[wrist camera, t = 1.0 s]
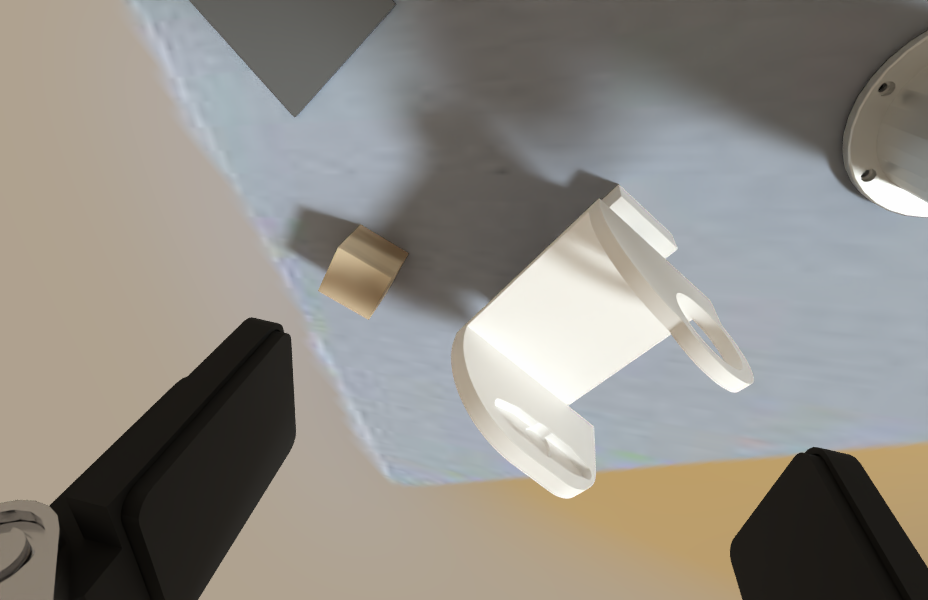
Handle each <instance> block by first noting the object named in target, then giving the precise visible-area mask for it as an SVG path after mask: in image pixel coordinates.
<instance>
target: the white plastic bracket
mask: <svg viewBox="0 0 928 600" xmlns="http://www.w3.org/2000/svg"><path fill="white" fill-rule="evenodd" d="M677 249H678V248H677V245H676V243H675V240H674V238H673V236H672V234H671V233H670V232H669V231H668V230H667V229H666V228H665V227H664V226H663V225H662V224H661V223H660V222H659V221H658V220H656V219H655V218H654V217H653V216H652V215H651V214H650V213H649V212H648V211H647V210H646V209H645V208H644V207H643V206H642V205H640V204H639V203H638V202H637V201H636V200H635V199H634V198H633V197H632V196H631V195H630V194H629V193H628V192H627V191H626V190H624V189H623V188H622V187H621V186H620V185H619V184H618V185H617V186H616V187H615V188H614V189H613V190H612V191H611V192H610V193H609V194H608V195H607V196H605V197H604V198H603V199H602V200H601V199H600V198H599V199H598V200H597V201H596V202H595V203H594V204H592V205H591V206H590V207H589V208H588V209H587V210H586V211H585V212H584V213H583V214H582V215H581V216H580V217H579V218H578V219H577V220H576V221H574V222H573V223H572V224H571V225H570V226H569V227H568V228H567V229H566V230H565V231H564V232H563V233H562V234H561V235H560V236H559V237H558V238H556V239H555V240H554V241H553V242H552V243H551V244H550V245H549V246H548V247H547V248H546V249H545V250H544V251H543V252H542V253H541V254H540V255H538V256H537V257H536V258H535V259H534V260H533V261H532V262H531V263H530V264H529V265H528V266H527V267H526V268H525V269H524V270H523V271H522V272H521V273H519V274H518V275H517V276H516V277H515V278H514V279H513V280H512V281H511V282H510V283H509V284H508V285H507V286H506V287H505V288H504V289H503V290H501V291H500V292H499V293H498V294H497V295H496V296H495V297H494V298H493V299H492V300H491V301H490V302H489V303H488V304H487V305H486V306H485V307H483V308H482V309H481V310H480V311H479V312H478V313H477V314H476V315H475V316H474V317H473V318H472V319H471V320H470V321H469V322H468V323H467V324H465V325H464V326H463V327H462V328H461V329H460V330H459V331H458V332H457V334H456V337H455V339H454V342H453V346H452V351H451V365H452V372H453V377H454V381H455V384H456V387H457V390H458V393H459V395H460V398H461V400H462V402H463V404H464V406H465V408H466V410H467V412H468V414H469V416H470V417H471V419H472V421H473V422H474V424H475V425H476V427H477V428H478V429H479V431H480V432H481V433H482V435H483V436H484V437H485V438H486V440H487V441H488V442H489V443H490V444H491V445H492V446H493V447H494V448H495V449H496V450H497V451H498V452H499V453H500V454H501V455H502V456H503V457H504V458H505V459H506V460H508V461H509V462H510V463H511V464H513V465H514V466H515V467H517V468H518V469H519V470H521V471H522V472H524V473H525V474H526V475H528V476H529V477H530V478H532V479H533V480H534V481H536V482H537V483H539V484H540V485H541V486H542V487H544V488H545V489H547V490H548V491H549V492H551V493H552V494H554V495H556V496H558V497H561V498H572V497H574V496H576V495H578V494H579V493H581V492H583V491H585V490H587V489H588V488H590V487H591V486H592V485H593V483H594V481H595V477H596V462H595V437H594V426H593V425H592V424H590V423H589V422H588V421H586V420H585V419H584V418H583V417H581V416H580V415H579V414H578V413H576V412H575V411H574V410H573V409H571V408H570V407H569V406H568V405H570V404H571V403H573V402H574V401H575V400H577V399H578V398H580V397H581V396H583V395H584V394H586V393H587V392H588V391H590V390H591V389H593V388H594V387H596V386H597V385H599V384H600V383H601V382H603V381H604V380H606V379H607V378H609V377H610V376H612V375H613V374H614V373H616V372H617V371H619V370H620V369H622V368H623V367H625V366H626V365H627V364H629V363H630V362H632V361H633V360H635V359H636V358H638V357H639V356H640V355H642V354H643V353H645V352H646V351H648V350H649V349H651V348H652V347H653V346H655V345H656V344H658V343H659V342H661V341H662V340H664V339H665V338H666V337H668V336H669V335H672V336H673V337H674V339H675V340H676V341H677V343H678V344H679V345H680V346H681V348H682V349H683V350H684V351H685V353H686V354H687V355H688V356H689V357H690V358H691V359H692V361H693V362H694V363H695V364H696V365H697V366H698V367H699V368H700V369H701V370H702V371H703V372H704V373H705V374H706V375H707V376H709V377H710V378H711V379H712V380H713V381H714V382H716V383H717V384H718V385H720V386H721V387H723V388H724V389H726V390H728V391H730V392H734V393H736V392H738V391H740V390H742V389H744V388H745V387H747V386H749V385H751V384H752V383H753V382H754V376H753V373H752V370H751V368H750V366H749V364H748V362H747V360H746V358H745V357H744V355H743V353H742V352H741V350H740V349H739V347H738V346H737V344H736V343H735V342H734V340H733V339H732V338H731V336H730V335H729V334H728V332H727V331H726V330H725V329H724V327H723V326H722V324H721V322H720V320H719V318H718V316H717V313H716V311H715V309H714V307H713V304H712V302H711V301H710V300H709V299H708V298H707V297H706V296H705V295H704V294H703V293H702V292H701V291H700V290H699V289H697V288H696V287H695V286H694V285H693V284H692V283H691V282H690V281H689V280H688V279H687V278H685V277H684V276H683V275H682V274H681V273H680V272H679V271H678V270H677V269H676V268H675V267H674V266H672V265H671V264H670V263H669V262H668V261H667V260H666V258H667V257H668V256H669V255H671V254H672V253H673V252H674V251H676V250H677ZM692 319H693V320H694V321H695V322H696V323H697V325H698V326H699V327H700V328H701V329H702V330H703V331H704V332H705V334H706V335H707V336H708V337H709V339H710V340H711V341H712V343H713V344H714V345H715V347H716V348H717V350H718V351H719V353H720V354H721V356H722V358H723V360H722V359H721V358H720V357H719V356H718V355H717V354H716V353H715V352H714V351H713V350H712V349H711V348H710V347H709V346H708V345H707V344H706V343H705V342H704V340H703V339H702V338H701V337H700V336H699V335H698V333H697V332H696V331H695V329H694V328H693V327H692V325H691V324H690V323H689V322H690V321H691V320H692Z"/></svg>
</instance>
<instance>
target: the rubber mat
mask: <svg viewBox="0 0 928 600" xmlns="http://www.w3.org/2000/svg"><path fill="white" fill-rule="evenodd" d="M190 1H191V2H192V4H193V5H194V6H195V7H196V8H197V9H198V10H199V11H200V13H201V14H202V15H203V16H204V17H205V18H206V19H207V20H208V21H209V23H210V24H211V25H212V26H213V27H214V28H215V29H216V30H217V31H218V33H219V34H220V35H221V36H222V37H223V38H224V39H225V40H226V41H227V43H228V44H229V45H230V46H231V47H232V48H233V49H234V50H235V51H236V53H237V54H238V55H239V56H240V57H241V58H242V59H243V60H244V62H245V63H246V64H247V65H248V66H249V67H250V68H251V69H252V70H253V72H254V73H255V74H256V75H257V76H258V77H259V78H260V79H261V80H262V82H263V83H264V84H265V85H266V86H267V87H268V88H269V89H270V90H271V92H272V93H273V94H274V95H275V96H276V97H277V98H278V99H279V100H280V102H281V103H282V104H283V105H284V106H285V107H286V108H287V109H288V111H289V112H290V113H291V114H292V115H293V116H294V117H296V116H297V115H298V114H299V113H300V112H301V111H302V110H303V109H304V107H305V106H306V105H307V104H308V103H309V102H310V101H311V100H312V98H313V97H314V96H315V95H316V94H317V93H318V92H319V91H320V90H321V88H322V87H323V86H324V85H325V84H326V83H327V82H328V81H329V79H330V78H331V77H332V76H333V75H334V74H335V73H336V72H337V71H338V69H339V68H340V67H341V66H342V65H343V64H344V63H345V62H346V60H347V59H348V58H349V57H350V56H351V55H352V54H353V53H354V51H355V50H356V49H357V48H358V47H359V46H360V45H361V44H362V43H363V41H364V40H365V39H366V38H367V37H368V36H369V35H370V34H371V32H372V31H373V30H374V29H375V28H376V27H377V26H378V25H379V24H380V22H381V21H382V20H383V19H384V18H385V17H386V16H387V15H388V13H389V12H390V11H391V10H392V9H393V8H394V7H395V6H396V4H395V2H394V1H393V0H190Z"/></svg>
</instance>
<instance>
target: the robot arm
mask: <svg viewBox="0 0 928 600" xmlns="http://www.w3.org/2000/svg"><path fill="white" fill-rule="evenodd" d="M882 84H884V86H883V88H882V89H881V90H879V88H880V86H881V85H882ZM878 90H879V91H878ZM842 153H843V159H844V165H845V169H846V171H847V173H848V176H849V178H850V180H851V182H852V183H853V185H854V186H855V187H856V188H857V189H858V191H859V192H860V193H861V194H862V195H864V196H865V197H866V198H868V199H869V200H870V201H872V202H873V203H875V204H877V205H878V206H880V207H882V208H884V209H886V210H888V211H891V212H894V213H898V214H901V215H904V216H914V217H923V218H926V217H928V30H927V31H926V32H924V33H923V34H921V35H920V36H918V37H916V38H915V39H913V40H912V41H910V42H909V43H907V44H906V45H905V46H904V47H903V48H901V49H900V50H899V51H898V52H896V53H895V54H894V55H893V56H892V57H890V58H889V59H888V60H887V61H886V62H885V63H884V64H883V66H882V67H881V68H880V69H879V70H878V71H877V72H876V73H875V74H874V75H873V76H872V77H871V79H870V80H869V82H868V83H867V85H866V86H865V87H864V89H863V90H862V92H861V93H860V95H859V96H858V98H857V100H856V102H855V104H854V106H853V108H852V110H851V112H850V114H849V117H848V120H847V124H846V127H845V131H844V135H843V150H842ZM864 171H866V172H865V173H864V174H863V175H862V173H863V172H864ZM295 436H296V424H295V405H294V385H293V368H292V347H291V337H290V335H289V334H287V333H284V330H283V327H282V325H280V324H278V323H274V322H270V321H265V320H261V319H256V318H248V319H246V320H245V321H244V322H243V323H242V324H241V325H240V326H239V327H238V328H237V329H236V330H235V331H234V332H233V333H232V334H231V335H229V336H228V337H227V338H226V339H225V340H224V341H223V342H222V343H221V344H220V345H219V346H218V347H217V348H216V349H215V350H214V351H213V352H212V353H211V354H210V355H209V356H208V357H207V358H206V359H205V360H204V361H203V362H202V363H201V364H200V365H199V366H198V367H197V368H196V369H195V370H194V371H193V372H192V373H191V374H190V375H189V376H188V377H185V378H183V379H181V380H180V381H179V382H177V383H176V384H175V385H174V386H173V387H172V388H171V389H170V390H169V391H168V392H167V393H166V394H165V395H163V396H162V397H161V399H159V400H158V401H157V402H156V403H155V404H154V405H153V406H152V407H151V408H150V409H149V410H148V411H147V412H146V413H145V414H144V415H143V416H142V417H141V418H140V419H139V420H138V421H137V422H136V423H134V424H133V425H132V426H131V427H130V428H129V429H128V430H127V431H126V432H125V433H124V434H123V435H122V436H121V437H120V438H119V439H118V440H117V441H116V442H115V443H114V444H113V445H112V446H111V447H110V448H109V449H108V450H107V451H105V453H103V454H102V455H101V456H100V457H99V458H98V459H97V460H96V461H95V462H94V463H93V464H92V465H91V466H90V467H89V468H88V469H87V470H86V471H85V472H84V473H83V474H82V475H81V476H80V477H79V478H78V479H76V480H75V482H73V483H72V484H71V485H70V486H69V487H68V488H67V489H66V490H65V491H64V492H63V493H62V494H61V495H60V496H59V497H58V498H57V499H56V500H55V501H54V502H53V503H52V504H51V505H50V506H48V505H45V504H43V503H40V502H37V501H28V500H15V501H9V502H4V503H0V600H198V599H199V597H200V596H201V594H202V592H203V591H204V589H205V587H206V586H207V584H208V583H209V581H210V579H211V578H212V576H213V575H214V573H215V571H216V570H217V568H218V567H219V565H220V563H221V562H222V560H223V558H224V557H225V555H226V554H227V552H228V550H229V549H230V547H231V546H232V544H233V542H234V541H235V539H236V538H237V536H238V534H239V533H240V531H241V529H242V528H243V526H244V524H245V523H246V521H247V520H248V518H249V516H250V515H251V513H252V512H253V510H254V508H255V507H256V505H257V504H258V502H259V500H260V499H261V497H262V496H263V494H264V492H265V491H266V489H267V488H268V486H269V484H270V483H271V481H272V479H273V478H274V476H275V475H276V473H277V471H278V470H279V468H280V467H281V465H282V463H283V462H284V460H285V459H286V457H287V455H288V454H289V452H290V450H291V448H292V446H293V443H294V440H295ZM730 557H731V562H732V566H733V569H734V573H735V575H736V579H737V582H738V586H739V589H740V592H741V596H742V599H743V600H928V568H927V566H926V564H925V563H924V561H923V560H922V558H921V557H920V555H919V554H918V552H917V550H916V549H915V547H914V546H913V544H912V543H911V541H910V540H909V538H908V536H907V535H906V533H905V532H904V530H903V529H902V527H901V526H900V524H899V522H898V521H897V520H896V518H895V516H894V515H893V513H892V512H891V510H890V509H889V507H888V506H887V504H886V502H885V501H884V499H883V498H882V496H881V495H880V493H879V491H878V490H877V488H876V487H875V485H874V484H873V482H872V481H871V479H870V478H869V476H868V474H867V473H866V471H865V470H864V468H863V467H862V465H861V464H860V462H859V461H858V460H857V459H856V458H855V457H853V456H851V455H849V454H844V453H840V452H836V451H831V450H827V449H822V448H817V447H813V448H810V449H808V450H807V451H806V452H805V453H799V454H797V455H796V456H795V457H794V458H793V460H792V461H791V462H790V464H789V465H788V466H787V468H786V469H785V470H784V472H783V473H782V474H781V476H780V477H779V478H778V480H777V481H776V482H775V484H774V485H773V486H772V488H771V489H770V491H769V492H768V493H767V494H766V496H765V497H764V499H763V500H762V501H761V503H760V504H759V505H758V507H757V508H756V509H755V511H754V512H753V513H752V515H751V516H750V517H749V519H748V520H747V521H746V523H745V524H744V525H743V527H742V528H741V530H740V531H739V532H738V534H737V535H736V536H735V538H734V539H733V541H732V543H731V548H730Z"/></svg>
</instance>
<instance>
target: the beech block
mask: <svg viewBox="0 0 928 600" xmlns="http://www.w3.org/2000/svg"><path fill="white" fill-rule="evenodd" d="M408 254H409V253H408V252H406V251H404V250H403V249H401V248H399V247H398V246H396V245H394V244H392V243H391V242H389V241H387V240H386V239H384V238H382V237H381V236H379V235H377V234H376V233H374V232H372V231H371V230H369V229H367V228H366V227H364V226H362V225H361V224H360V226H359V227H358V228H357V229H356V230H355V231H354V232H353V233H352V234H351V235H350V236H349V237H348V238H347V239H346V240H345V241H344V242H343V243H342V244H341V245H340V246H339V247H338V248H337V250H336V253H335V255H334V257H333V259H332V261H331V264H330V266H329V268H328V270H327V272H326V275H325V277H324V279H323V281H322V283H321V286H320V288H319V290H318V291H319V292H321V293H323V294H325V295H326V296H328V297H330V298H332V299H333V300H335V301H337V302H339V303H340V304H342V305H344V306H346V307H347V308H349V309H351V310H352V311H354V312H356V313H358V314H359V315H361V316H363V317H365V318H366V319H368V320H369V319H370V317H371V316H372V314H373V313H374V311H375V310H376V308H377V307H378V305H379V304H380V302H381V301H382V299H383V298H384V296H385V295H386V293H387V292H388V290H389V288H390V286H391V284H392V283H393V281H394V279H395V277H396V276H397V274H398V272H399V270H400V268H401V267H402V265H403V263H404V261H405V259H406V258H407V256H408Z"/></svg>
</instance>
